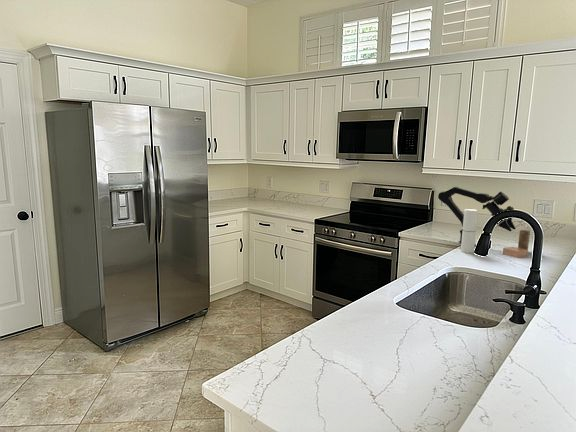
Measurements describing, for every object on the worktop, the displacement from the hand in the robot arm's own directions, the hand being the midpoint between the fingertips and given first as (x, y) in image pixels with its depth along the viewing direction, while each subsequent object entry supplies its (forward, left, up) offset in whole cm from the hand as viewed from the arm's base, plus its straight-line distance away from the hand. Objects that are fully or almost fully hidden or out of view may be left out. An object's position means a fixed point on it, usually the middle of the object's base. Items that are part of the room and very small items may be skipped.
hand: (513, 230), depth 245 cm
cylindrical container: (-30, -1, -13) cm, 33 cm away
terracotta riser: (-7, -12, -13) cm, 19 cm away
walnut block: (+4, -5, -12) cm, 14 cm away
